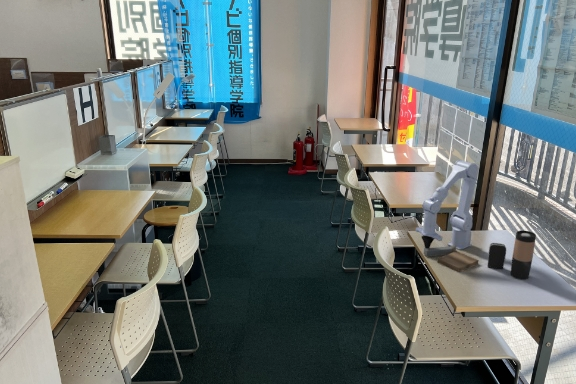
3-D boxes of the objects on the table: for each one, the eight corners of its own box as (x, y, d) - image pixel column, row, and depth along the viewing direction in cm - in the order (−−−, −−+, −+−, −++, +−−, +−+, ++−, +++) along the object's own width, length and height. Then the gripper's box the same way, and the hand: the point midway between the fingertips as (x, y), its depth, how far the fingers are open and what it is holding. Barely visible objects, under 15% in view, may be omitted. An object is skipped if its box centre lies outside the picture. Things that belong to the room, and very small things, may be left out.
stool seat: (452, 252, 218) (453, 244, 217) (479, 263, 206) (480, 255, 205) (431, 259, 210) (432, 252, 209) (459, 272, 198) (459, 264, 197)
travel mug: (527, 272, 197) (534, 231, 190) (530, 281, 190) (537, 238, 184) (508, 270, 199) (515, 229, 193) (510, 278, 192) (517, 236, 186)
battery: (503, 266, 203) (506, 243, 200) (503, 269, 200) (507, 246, 196) (486, 263, 205) (489, 241, 202) (486, 267, 202) (490, 244, 199)
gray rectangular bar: (448, 251, 217) (449, 246, 216) (451, 254, 215) (452, 248, 214) (423, 254, 216) (424, 248, 215) (426, 256, 213) (426, 251, 212)
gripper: (412, 221, 216) (410, 246, 220) (436, 230, 204) (433, 257, 208) (422, 218, 220) (419, 243, 224) (446, 227, 208) (443, 253, 212)
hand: (427, 249), depth 216 cm, fingers closed
